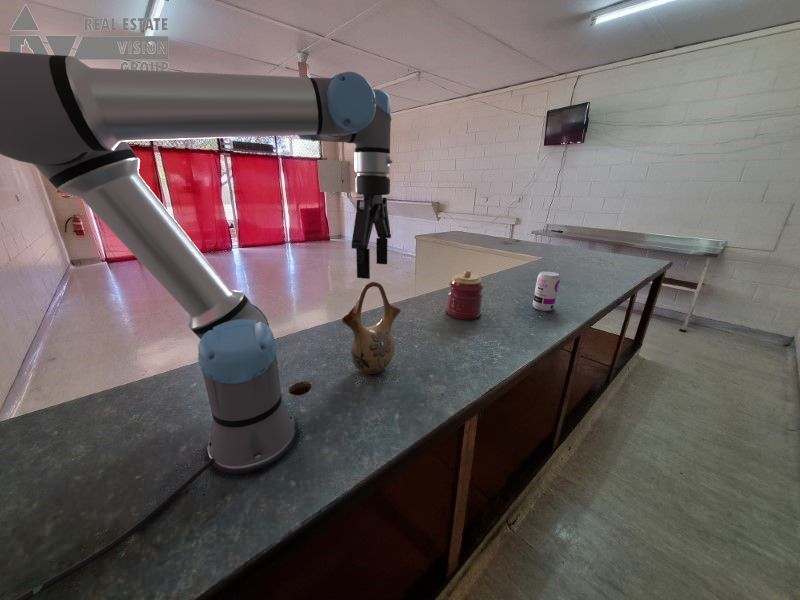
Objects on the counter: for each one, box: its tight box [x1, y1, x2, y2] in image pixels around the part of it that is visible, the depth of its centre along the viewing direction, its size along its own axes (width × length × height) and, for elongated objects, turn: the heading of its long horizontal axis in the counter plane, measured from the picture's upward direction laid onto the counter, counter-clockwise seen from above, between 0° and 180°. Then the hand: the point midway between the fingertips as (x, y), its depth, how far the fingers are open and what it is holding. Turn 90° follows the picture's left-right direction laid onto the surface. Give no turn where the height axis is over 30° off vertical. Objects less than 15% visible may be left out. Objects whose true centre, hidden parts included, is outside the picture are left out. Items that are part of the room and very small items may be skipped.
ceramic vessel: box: [341, 281, 402, 375], centre depth 81 cm, size 16×9×25 cm, turn 123°
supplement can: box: [532, 270, 561, 312], centre depth 130 cm, size 8×8×15 cm
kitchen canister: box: [446, 269, 484, 321], centre depth 121 cm, size 13×13×18 cm
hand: (373, 270), depth 76 cm, fingers open, 13 cm apart
